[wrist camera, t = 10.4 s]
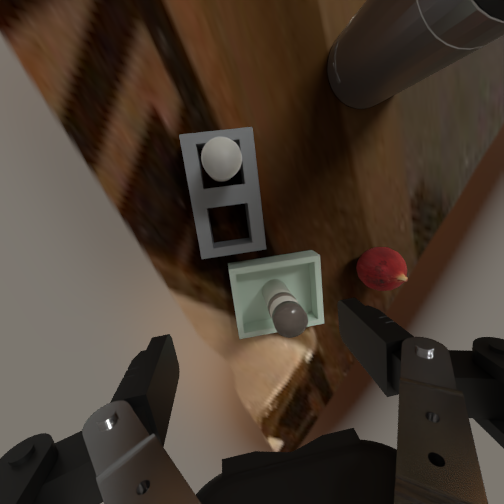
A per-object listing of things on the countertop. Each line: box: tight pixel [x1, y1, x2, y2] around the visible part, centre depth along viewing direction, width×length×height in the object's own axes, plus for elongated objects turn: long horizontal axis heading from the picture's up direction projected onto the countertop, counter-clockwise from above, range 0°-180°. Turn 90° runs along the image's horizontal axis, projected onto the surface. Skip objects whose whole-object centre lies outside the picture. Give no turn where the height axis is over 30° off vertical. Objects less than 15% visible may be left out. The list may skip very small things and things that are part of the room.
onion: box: [356, 247, 408, 291], centre depth 34 cm, size 6×6×8 cm
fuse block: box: [179, 127, 266, 259], centre depth 31 cm, size 8×14×4 cm, turn 7°
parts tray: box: [228, 250, 324, 339], centre depth 35 cm, size 12×10×3 cm
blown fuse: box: [262, 279, 308, 338], centre depth 32 cm, size 4×4×9 cm
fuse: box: [201, 137, 242, 182], centre depth 28 cm, size 4×4×9 cm
